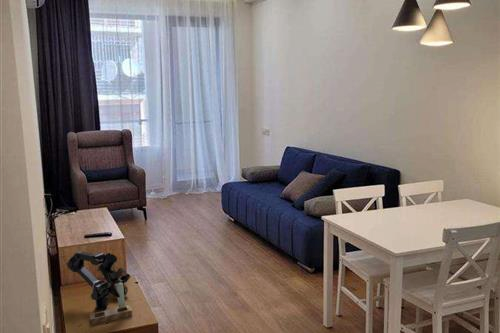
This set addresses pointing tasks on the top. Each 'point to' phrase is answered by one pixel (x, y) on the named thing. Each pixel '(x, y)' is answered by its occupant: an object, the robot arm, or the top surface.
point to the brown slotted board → (111, 314)
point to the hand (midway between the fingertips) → (122, 295)
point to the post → (121, 293)
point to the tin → (116, 290)
